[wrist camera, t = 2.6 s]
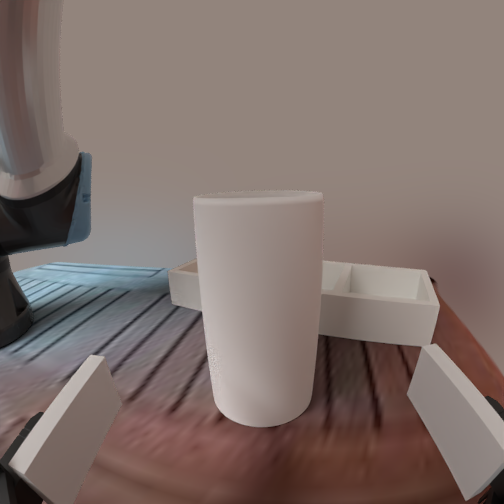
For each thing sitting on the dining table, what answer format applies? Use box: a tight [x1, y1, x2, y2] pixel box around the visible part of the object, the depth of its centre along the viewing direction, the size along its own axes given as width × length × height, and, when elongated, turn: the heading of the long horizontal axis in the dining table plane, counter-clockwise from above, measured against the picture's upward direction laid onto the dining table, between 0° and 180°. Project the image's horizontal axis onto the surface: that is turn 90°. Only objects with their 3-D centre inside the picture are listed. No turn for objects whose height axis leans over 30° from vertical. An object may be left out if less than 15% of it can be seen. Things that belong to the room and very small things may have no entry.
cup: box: [193, 190, 324, 427], centre depth 20 cm, size 8×8×16 cm
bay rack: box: [168, 258, 440, 347], centre depth 37 cm, size 34×12×5 cm, turn 64°
